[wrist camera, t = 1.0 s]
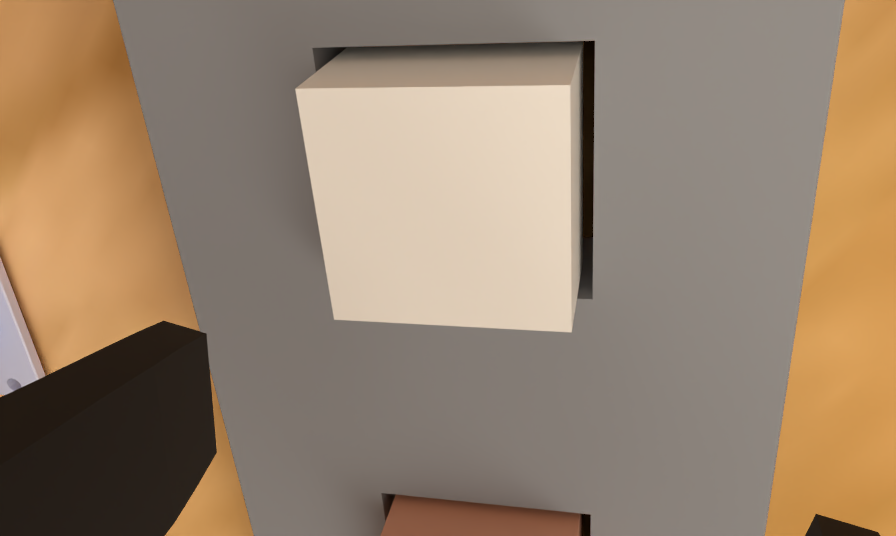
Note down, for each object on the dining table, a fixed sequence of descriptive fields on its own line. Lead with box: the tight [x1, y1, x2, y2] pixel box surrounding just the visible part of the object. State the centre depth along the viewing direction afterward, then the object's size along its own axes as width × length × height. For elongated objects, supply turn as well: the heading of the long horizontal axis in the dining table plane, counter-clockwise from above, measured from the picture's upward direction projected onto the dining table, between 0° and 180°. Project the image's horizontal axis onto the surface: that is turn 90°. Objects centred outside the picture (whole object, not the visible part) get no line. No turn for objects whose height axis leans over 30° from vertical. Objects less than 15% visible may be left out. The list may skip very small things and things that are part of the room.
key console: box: [113, 0, 845, 536], centre depth 21 cm, size 14×24×3 cm, turn 4°
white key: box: [295, 41, 583, 332], centre depth 17 cm, size 5×5×3 cm
